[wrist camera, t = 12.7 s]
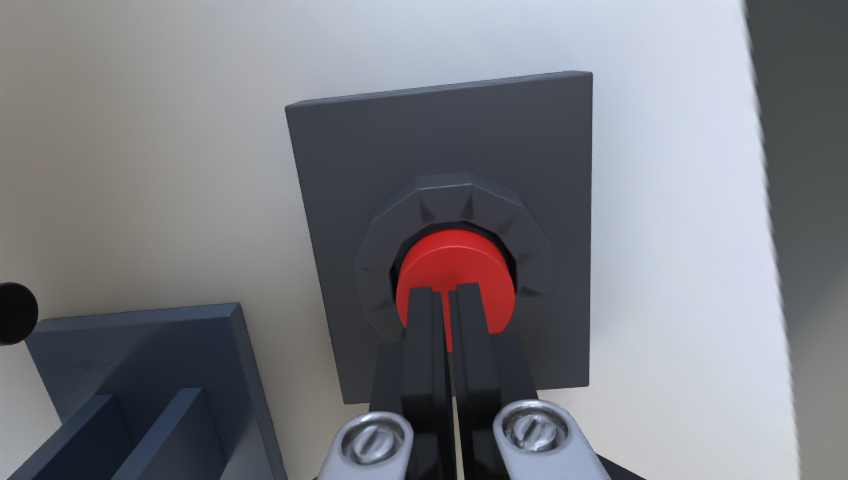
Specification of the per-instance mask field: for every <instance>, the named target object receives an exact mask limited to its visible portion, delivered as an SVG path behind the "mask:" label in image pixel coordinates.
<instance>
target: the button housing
mask: <svg viewBox="0 0 848 480" xmlns="http://www.w3.org/2000/svg"><path fill="white" fill-rule="evenodd" d="M592 97H593V74H592V72H586V71H564V72H555V73H546V74H537V75H528V76H519V77H510V78H501V79H492V80H483V81H475V82H466V83H457V84H448V85H439V86H430V87H421V88H412V89H403V90H394V91H385V92H376V93H367V94H358V95H350V96H341V97H332V98H323V99H314V100H305V101H300V102H297V103H294V104H290V105H287V106H285V113H286V118H287V123H288V128H289V133H290V138H291V143H292V148H293V153H294V158H295V163H296V168H297V173H298V178H299V183H300V188H301V193H302V198H303V202H304V207H305V212H306V217H307V222H308V227H309V232H310V237H311V242H312V247H313V252H314V257H315V262H316V267H317V272H318V277H319V282H320V287H321V292H322V297H323V302H324V307H325V312H326V317H327V322H328V327H329V332H330V337H331V342H332V347H333V352H334V357H335V362H336V367H337V372H338V377H339V382H340V387H341V392H342V397H343V402H344V404H360V403H370V399H371V393H372V387H373V382H374V376H375V370H376V364H377V358H378V352H379V347H380V344H381V343H388V342H400V341H405V334H406V328H405V326H404V325H403V323H402V321H401V319H400V317H399V314H398V311H397V306H396V292H397V286H398V280H399V274H400V268H401V264H402V261H403V258H404V256H405V254H406V253H407V251H408V250H409V248H410V247H411V246H412V245H413V244H414V243H415V242H416V241H417V240H418V239H419V238H421V237H422V236H424V235H425V234H427V233H429V232H432V231H434V230H437V229H441V228H447V227H462V228H467V229H471V230H474V231H477V232H479V233H481V234H483V235H484V236H486V237H487V238H489V239H490V240H491V241H492V242H493V243H494V244H495V245H496V246H497V247H498V249H499V250H500V252H501V253H502V255H503V257H504V260H505V262H506V265H507V268H508V271H509V274H510V277H511V280H512V283H513V287H514V292H515V304H514V310H513V313H512V316H511V318H510V320H509V322H508V324H507V325H506V327H505V328H504V329H503V331H502V332H501V333H504V332H515V331H517V332H518V335H519V337H520V341H521V344H522V347H523V350H524V353H525V357H526V360H527V363H528V366H529V370H530V373H531V376H532V379H533V382H534V386H535V389H536V390H548V389H561V388H574V387H587V386H589V353H590V268H591V182H592ZM447 352H448V361H449V371H450V380H451V391H452V397H454V396H456V391H455V378H454V365H453V352H449V351H447Z"/></svg>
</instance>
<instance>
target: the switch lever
mask: <svg viewBox="0 0 848 480" xmlns="http://www.w3.org/2000/svg"><path fill="white" fill-rule="evenodd" d="M37 320H38V304H37V301H36V298H35V296H34V295H33V293H32V292H31V291H30V290H29V289H28V288H27V287H25V286H23V285H21V284H18V283H14V282H6V283H0V346H5V345H13V344H17V343H19V342H21V341H23V340H24V339H26V338H27V337H28V336H29V335H30V334H31V333H32V331H33V330H34V328H35V326H36V323H37Z"/></svg>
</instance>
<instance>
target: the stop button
mask: <svg viewBox="0 0 848 480" xmlns="http://www.w3.org/2000/svg"><path fill="white" fill-rule="evenodd" d="M470 282H478V283H479V288H480V292H481V297H482V302H483V307H484V311H485V316H486V321H487V326H488V331H489V334H492V333H501V332H502V331H503V329H504V328H505V327H506V325H507V324H508V322H509V320H510V318H511V316H512V313H513V310H514V304H515V292H514V287H513V283H512V280H511V277H510V274H509V271H508V268H507V265H506V262H505V260H504V257H503V255H502V253H501V252H500V250H499V249H498V247H497V246H496V245H495V244H494V243H493V242H492V241H491V240H490V239H489V238H487V237H486V236H484V235H483V234H481V233H479V232H477V231H474V230H471V229H467V228H462V227H447V228H441V229H437V230H434V231H432V232H429V233H427V234H425V235H424V236H422V237H421V238H419V239H418V240H417V241H416V242H415V243H414V244H413V245H412V246H411V247H410V248H409V250H408V251H407V253H406V254H405V256H404V258H403V261H402V264H401V268H400V274H399V280H398V286H397V292H396V306H397V311H398V314H399V317H400V319H401V321H402V323H403V325H404V326H405V328H406V322H407V310H408V298H409V288H415V287H426V286H432V291H433V292H435V291H441V296H442V305H443V315H444V324H445V333H446V343H447V351H449V352H452V338H451V325H450V312H449V298H448V290H457V289H456V284H459V283H470Z"/></svg>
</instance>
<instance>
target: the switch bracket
mask: <svg viewBox="0 0 848 480" xmlns="http://www.w3.org/2000/svg"><path fill="white" fill-rule="evenodd" d="M24 341H25V343H26V345H27V348H28V350H29V352H30V354H31V356H32V359H33V361H34V363H35V365H36V367H37V370H38V372H39V374H40V376H41V378H42V381H43V383H44V385H45V387H46V390H47V392H48V394H49V396H50V398H51V401H52V403H53V405H54V407H55V409H56V412H57V414H58V416H59V418H60V420H61V423H62V426H61V427H60V428H59V429H58V430H57V431H56V432H55V433H54V434H53V435H52V436H51V437H50V438H49V439H48V440H47V441H46V442H45V443H44V444H43V445H42V446H41V447H40V448H39V449H38V450H37V451H36V452H35V453H34V454H33V455H32V456H31V457H29V458H28V459H27V460H26V461H25V462H24V463H23V464H22V465H21V466H20V467H19V468H18V469H17V470H16V471H15V472H14V473H13V474H12V475H11V476H10V477H9V478H8V479H7V480H287V478H286V474H285V470H284V466H283V463H282V459H281V455H280V452H279V448H278V444H277V440H276V437H275V433H274V429H273V425H272V422H271V418H270V414H269V411H268V407H267V403H266V399H265V396H264V392H263V388H262V384H261V381H260V377H259V373H258V369H257V366H256V362H255V358H254V355H253V351H252V347H251V343H250V340H249V336H248V332H247V328H246V325H245V321H244V317H243V313H242V310H241V306H240V303H227V304H216V305H205V306H193V307H182V308H171V309H159V310H148V311H136V312H125V313H114V314H102V315H91V316H80V317H68V318H57V319H46V320H41V321H40V322H38V323H37V324H36V326H35V328H34V330H33V331H32V333H31V334H30V335H29V336H28V337H27V338H26V339H24Z"/></svg>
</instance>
